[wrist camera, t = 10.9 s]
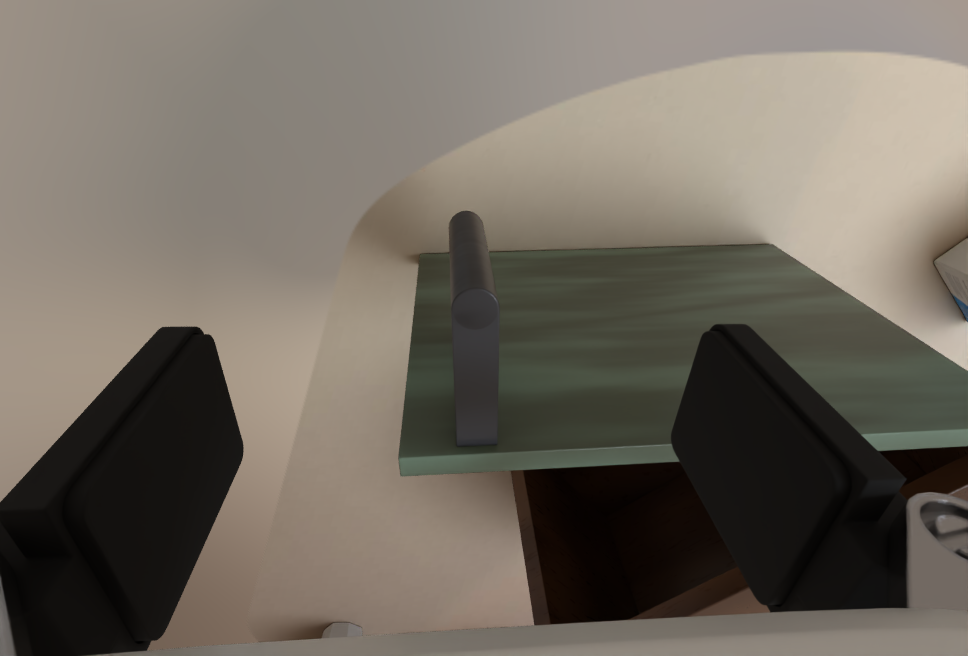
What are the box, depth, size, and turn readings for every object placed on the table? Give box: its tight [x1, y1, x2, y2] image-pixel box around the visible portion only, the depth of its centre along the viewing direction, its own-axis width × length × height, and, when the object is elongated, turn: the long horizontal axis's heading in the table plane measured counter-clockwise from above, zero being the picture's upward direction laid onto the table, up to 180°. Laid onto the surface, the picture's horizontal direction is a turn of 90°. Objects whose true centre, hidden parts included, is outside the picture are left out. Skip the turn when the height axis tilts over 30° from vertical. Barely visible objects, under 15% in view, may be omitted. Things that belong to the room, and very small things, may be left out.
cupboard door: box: [398, 211, 968, 476], centre depth 27 cm, size 8×26×20 cm, turn 90°
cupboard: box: [511, 446, 968, 625], centre depth 37 cm, size 16×26×20 cm, turn 130°
